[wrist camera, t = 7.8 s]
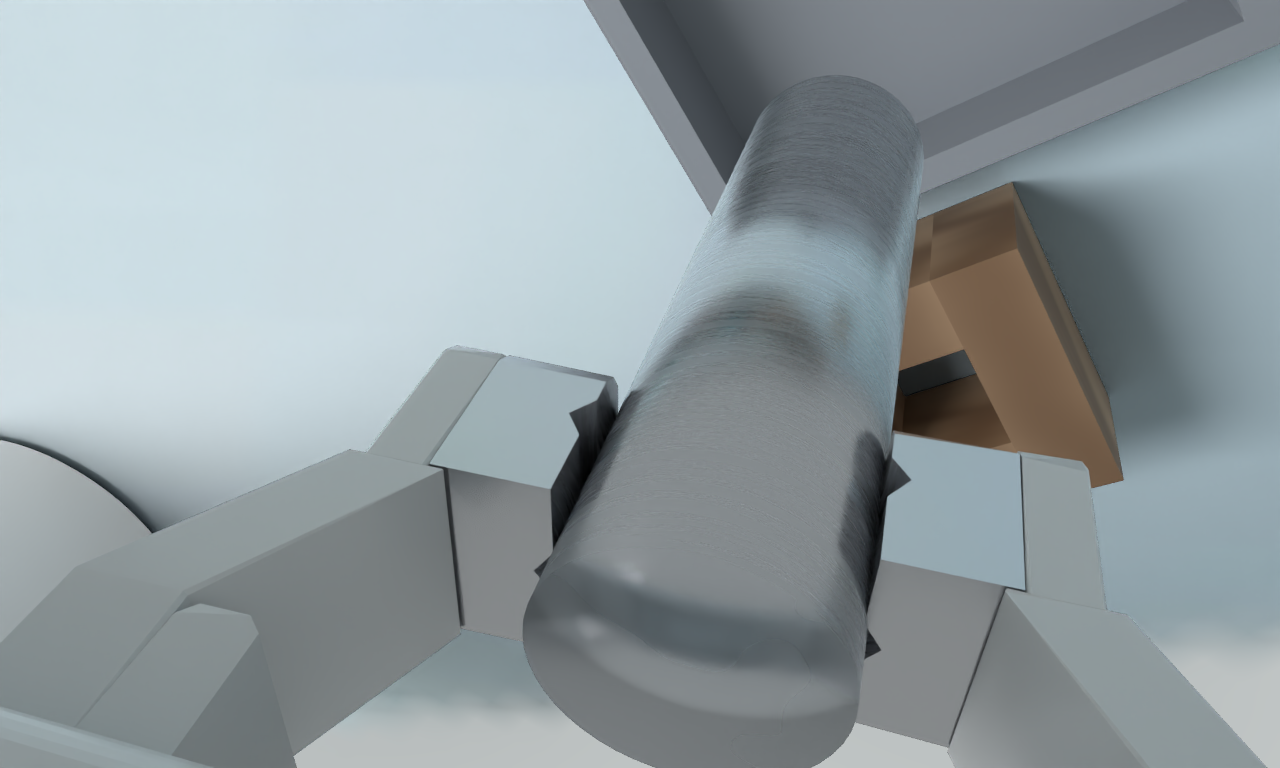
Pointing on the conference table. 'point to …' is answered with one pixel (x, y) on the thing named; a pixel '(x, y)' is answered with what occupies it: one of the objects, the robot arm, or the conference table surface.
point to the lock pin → (748, 460)
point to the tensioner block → (1001, 342)
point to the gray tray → (919, 65)
